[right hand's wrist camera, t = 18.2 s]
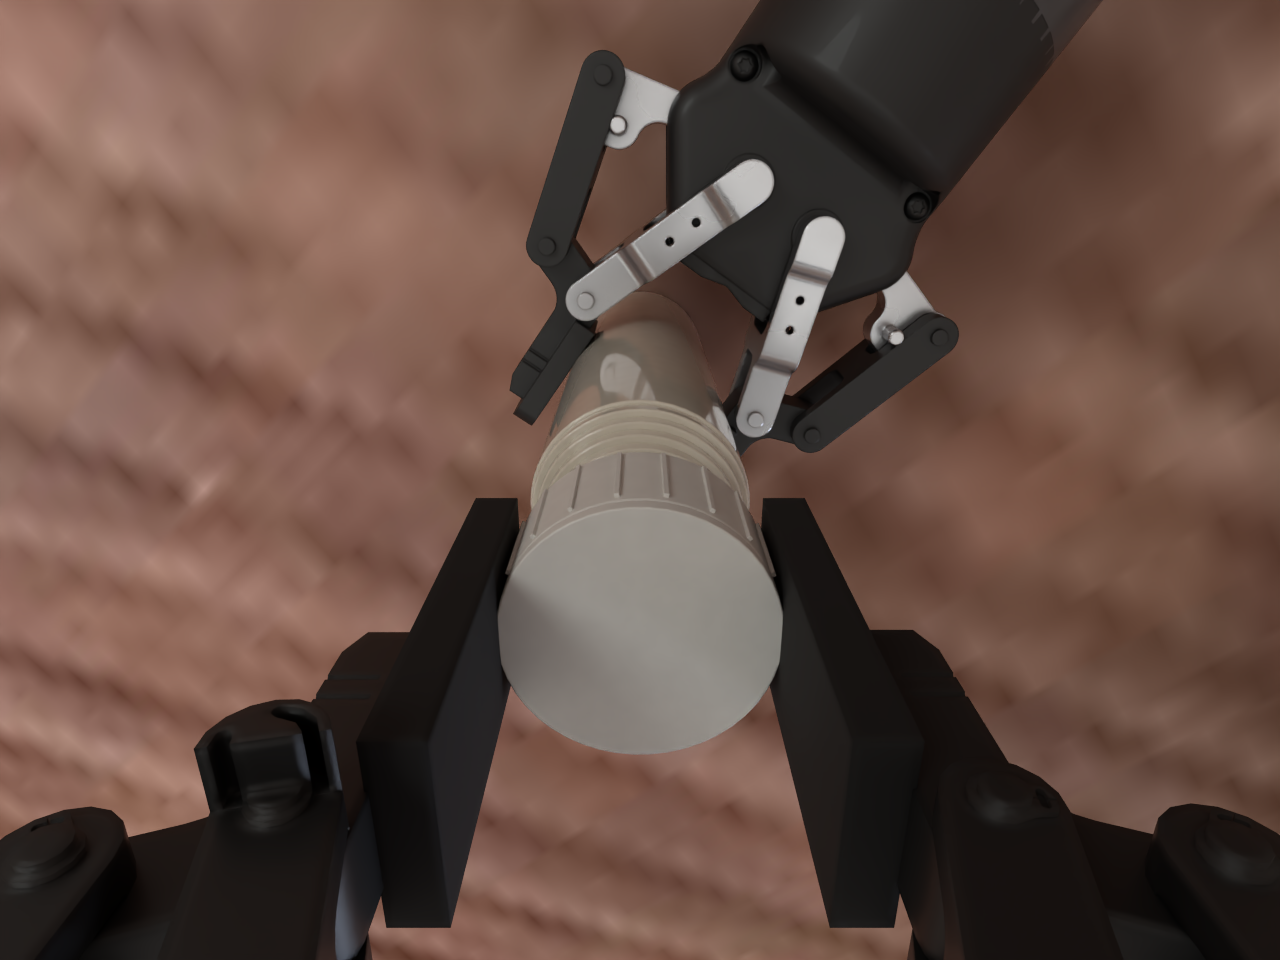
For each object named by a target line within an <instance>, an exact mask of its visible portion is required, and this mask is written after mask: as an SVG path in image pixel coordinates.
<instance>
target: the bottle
mask: <svg viewBox="0 0 1280 960" xmlns="http://www.w3.org/2000/svg"><path fill="white" fill-rule="evenodd" d="M597 321H598V324H597V327H596V331H595V335H594V336H593V337H592V339H591V340H590V342H589V343H588V345H587V346H586V348H585V349H584V351H583V352H582V354H581V355H580V356H579V357H578V359H577V360H576V362H575V363H574V365H573V367H572V368H571V370H570V372H569V375H568V378H567V381H566V384H565V386H564V389H563V392H562V395H561V398H560V401H559V404H558V407H557V410H556V413H555V416H554V418H553V421H552V424H551V427H550V430H549V433H548V436H547V439H546V442H545V445H544V447H543V450H542V453H541V456H540V459H539V462H538V465H537V468H536V471H535V474H534V477H533V482H532V488H531V511H532V509H533V507H534V506H535V505H536V503H537V502H538V501H539V499H540V498H541V496H542V492H543V491H544V490H545V489H547V490H548V489H549V488H550V487H551V486H552V485H553V484H554V483H555V482H557V481H558V480H559V479H561V478H562V477H563V476H565V475H566V474H567V473H569V472H571V471H572V470H574V469H575V468H576V466H578V465H584V464H586V463H589V462H591V461H593V460H596V459H599V458H603V457H607V456H610V455H615V454H617V453H618V452H622V453H629V452H650V453H659V454H661V452H662V453H666V455H670V456H674V457H678V458H682V459H684V460H687V461H690V462H692V463H695V464H697V465H699V466H701V467H702V466H705V467H707V470H708V471H710V472H712V473H713V474H714V475H716V476H717V477H719V478H720V479H721V480H723V481H724V482H725V483H726V484H727V485H728V486H729V487H730V488H731V489H733V490H734V491H736V490H737V491H738V492H739V494H740V497H741V500H742V501H743V502H744V504H745V505H746V507H747V509H748V510H749V509H750V492H749V485H748V479H747V476H746V472H745V469H744V466H743V463H742V460H741V457H740V454H739V451H738V448H737V446H736V443H735V440H734V437H733V434H732V431H731V428H730V425H729V422H728V419H727V417H726V414H725V411H724V408H723V405H722V402H721V399H720V396H719V393H718V390H717V387H716V385H715V382H714V379H713V376H712V373H711V370H710V367H709V364H708V361H707V358H706V356H705V353H704V350H703V347H702V344H701V341H700V338H699V335H698V332H697V330H696V327H695V325H694V323H693V321H692V320H691V318H690V317H689V315H688V314H687V313H686V312H685V311H684V310H683V309H682V308H681V307H680V306H679V305H678V304H677V303H675V302H674V301H672V300H670V299H669V298H667V297H665V296H662V295H659V294H656V293H651V292H642V291H639V292H632V293H631V294H630V295H628V296H627V297H625V298H624V299H623V300H621V301H620V302H618V303H617V304H616V305H614V306H613V307H611V308H610V309H609V310H607V311H606V312H605V313H603V314H602V315H600V316H599V317H598V318H597Z"/></svg>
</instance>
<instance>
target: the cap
mask: <svg viewBox="0 0 1280 960" xmlns="http://www.w3.org/2000/svg"><path fill="white" fill-rule="evenodd" d="M505 574H507V575H508V577H507V580H506V583H505V586H504V589H503V592H502V595H501V599H500V603H499V607H498V613H497V616H498V631H499V644H500V656H501V665H502V667H503V670H504V672H505V674H506V677H507V679H508V681H509V683H510V684H511V686H512V688H513V689H514V691H515V693H516V694H517V696H518V697H519V698H520V699H521V701H522V702H523V703H524V704H525V706H526V707H527V708H528V709H529V710H530V711H531V712H532V713H533V714H534V715H535V716H536V717H537V718H539V719H540V720H541V721H542V722H544V723H545V724H546V725H548V726H549V727H550V728H552V729H553V730H555V731H557V732H559V733H560V734H562V735H564V736H565V737H567V738H570V739H572V740H574V741H576V742H579V743H581V744H584V745H587V746H590V747H593V748H596V749H600V750H605V751H610V752H615V753H624V754H657V753H665V752H671V751H676V750H680V749H685V748H688V747H691V746H694V745H697V744H699V743H702V742H704V741H707V740H709V739H711V738H713V737H715V736H717V735H719V734H720V733H722V732H724V731H725V730H727V729H728V728H730V727H732V726H733V725H734V724H735V723H737V722H738V721H739V720H740V719H742V718H743V717H744V716H745V715H746V714H747V713H748V712H749V711H750V710H751V709H752V708H753V707H754V706H755V705H756V704H757V703H758V701H759V700H760V699H761V697H762V696H763V695H764V693H765V692H766V691H767V689H768V687H769V685H770V683H771V682H772V680H773V678H774V676H775V673H776V671H777V668H778V665H779V662H780V650H781V638H782V624H783V609H782V605H781V601H780V597H779V594H778V591H777V588H776V585H775V581H774V578H773V577H775V576H776V573H775V570H774V567H773V564H772V561H771V558H770V555H769V552H768V549H767V546H766V543H765V540H764V537H763V534H762V531H761V528H760V525H759V523H757V524H755V522H754V520H753V517H752V515H751V514H750V512H749V510H748V509H747V507H746V505H745V504H744V502H743V501H742V500H741V497H740V494H739V492H738V491H737V490H736V491H734V490H733V489H731V488H730V487H729V486H728V485H727V484H726V483H725V482H724V481H723V480H721V479H720V478H719V477H717V476H716V475H714V474H713V473H712V472H710V471H708V470H707V467H705V466H702V467H701V466H699V465H697V464H695V463H692V462H690V461H687V460H684V459H682V458H678V457H674V456H670V455H666V453H662V452H661V454H659V453H650V452H629V453H622V452H618V453H617V454H615V455H610V456H607V457H603V458H599V459H596V460H593V461H591V462H589V463H586V464H584V465H578V466H576V468H575V469H574V470H572V471H571V472H569V473H567V474H566V475H565V476H563V477H562V478H561V479H559V480H558V481H557V482H555V483H554V484H553V485H552V486H551V487H550V488H549V489H548V490H547V489H545V490H544V491H543V492H542V496H541V498H540V499H539V501H538V502H537V503H536V505H535V506H534V507H533V509H532V511H531V513H530V515H529V516H528V518H527V520H526V522H524V521H523V522H522V524H521V527H520V530H519V533H518V536H517V539H516V542H515V545H514V548H513V551H512V554H511V557H510V560H509V563H508V566H507V569H506V572H505Z"/></svg>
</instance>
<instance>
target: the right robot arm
mask: <svg viewBox="0 0 1280 960" xmlns="http://www.w3.org/2000/svg"><path fill="white" fill-rule="evenodd" d="M761 531H762V534H763V537H764V540H765V543H766V546H767V549H768V552H769V555H770V558H771V561H772V564H773V567H774V570H775V573H776V576H775V577H773V578H774V581H775V585H776V588H777V591H778V594H779V597H780V601H781V605H782V609H783V624H782V638H781V650H780V662H779V665H778V668H777V671H776V673H775V676H774V678H773V680H772V682H771V683H770V689H771V693H772V697H773V701H774V705H775V709H776V713H777V717H778V721H779V725H780V729H781V733H782V737H783V741H784V745H785V749H786V753H787V757H788V761H789V765H790V769H791V773H792V777H793V781H794V785H795V789H796V793H797V797H798V801H799V805H800V809H801V813H802V817H803V821H804V825H805V829H806V833H807V837H808V841H809V845H810V849H811V853H812V858H813V862H814V866H815V870H816V874H817V878H818V882H819V886H820V890H821V894H822V898H823V902H824V906H825V910H826V914H827V918H828V922H829V926H830V928H894V925H895V919H896V913H897V907H898V901H899V895H900V894H901V897H902V900H903V903H904V906H905V908H906V911H907V914H908V917H909V920H910V922H911V925H912V928H913V929H912V935H911V940H910V946H909V952H908V957H907V960H1280V835H1279V834H1278V833H1276V832H1274V831H1272V830H1270V829H1269V828H1267V827H1265V826H1263V825H1261V824H1259V823H1258V822H1256V821H1254V820H1252V819H1250V818H1249V817H1246V816H1243V815H1240V814H1237V813H1234V812H1231V811H1228V810H1225V809H1223V808H1220V807H1215V806H1207V805H1199V804H1185V805H1180V806H1174V807H1170V808H1169V809H1168V810H1167V811H1166V812H1164V813H1163V814H1162V815H1161V816H1160V817H1159V818H1158V821H1157V824H1156V827H1155V831H1154V834H1149V833H1145V832H1141V831H1137V830H1132V829H1128V828H1124V827H1120V826H1115V825H1111V824H1107V823H1103V822H1098V821H1095V820H1091V819H1088V818H1085V817H1082V816H1078V815H1075V814H1073V813H1071V812H1070V810H1069V809H1068V807H1067V806H1066V804H1065V802H1064V801H1063V799H1062V798H1061V796H1060V794H1059V793H1058V792H1057V791H1056V790H1054V789H1053V788H1052V787H1051V786H1050V785H1049V784H1047V783H1046V782H1045V781H1044V780H1043V779H1041V778H1040V777H1039V776H1037V775H1035V774H1033V773H1031V772H1029V771H1027V770H1025V769H1023V768H1021V767H1019V766H1017V765H1014V764H1010V763H1008V761H1007V759H1006V758H1005V756H1004V754H1003V753H1002V751H1001V750H1000V748H999V746H998V745H997V743H996V741H995V740H994V738H993V737H992V735H991V733H990V732H989V730H988V729H987V727H986V725H985V724H984V722H983V720H982V719H981V717H980V716H979V714H978V712H977V711H976V709H975V707H974V706H973V704H972V703H971V701H970V699H969V698H968V697H965V691H964V690H963V688H962V686H961V685H960V683H959V682H958V680H957V678H956V677H953V672H952V670H951V669H950V667H949V665H948V664H947V662H946V660H945V659H944V657H943V656H942V654H941V652H940V651H939V649H937V648H936V647H935V646H933V645H932V644H931V643H929V642H928V641H927V640H925V639H924V638H923V637H921V636H920V635H919V634H917V633H916V632H915V631H914V630H869V628H868V626H867V624H866V622H865V619H864V617H863V615H862V613H861V611H860V609H859V607H858V605H857V603H856V601H855V599H854V597H853V595H852V593H851V591H850V589H849V587H848V585H847V583H846V581H845V579H844V577H843V575H842V573H841V571H840V569H839V567H838V565H837V563H836V561H835V559H834V557H833V555H832V553H831V551H830V549H829V547H828V545H827V543H826V541H825V539H824V536H823V534H822V532H821V530H820V528H819V526H818V524H817V522H816V520H815V518H814V516H813V514H812V512H811V510H810V508H809V506H808V504H807V502H806V500H805V498H763V509H762V525H761ZM518 533H519V517H518V501H517V498H476V499H475V501H474V503H473V505H472V507H471V509H470V511H469V513H468V515H467V517H466V519H465V521H464V523H463V525H462V527H461V529H460V531H459V533H458V535H457V538H456V540H455V542H454V544H453V546H452V548H451V550H450V552H449V554H448V556H447V558H446V560H445V562H444V564H443V566H442V568H441V570H440V572H439V574H438V576H437V578H436V580H435V582H434V584H433V586H432V588H431V590H430V592H429V594H428V596H427V598H426V600H425V602H424V604H423V606H422V608H421V610H420V612H419V614H418V617H417V619H416V621H415V623H414V625H413V627H412V629H411V631H410V632H368V633H367V634H365V635H364V636H363V637H361V638H360V639H359V640H357V641H356V642H355V643H353V644H352V645H351V646H349V647H348V648H347V649H346V650H344V651H343V652H342V653H341V655H340V656H339V658H338V660H337V661H336V663H335V664H334V666H333V668H332V669H331V671H330V673H329V674H328V680H325V681H324V682H323V684H322V686H321V687H320V689H319V691H318V692H317V694H316V699H313V700H312V702H307V701H304V700H300V699H294V700H273V701H269V702H265V703H261V704H256V705H252V706H249V707H247V708H245V709H243V710H240V711H238V712H236V713H234V714H232V715H229V716H227V717H225V718H224V719H223V720H221V721H220V722H219V723H217V724H216V725H215V726H213V727H212V728H211V729H209V730H208V731H207V732H206V733H205V734H204V735H203V737H202V738H201V740H200V741H199V742H198V744H197V745H196V747H195V748H194V752H195V755H196V759H197V763H198V767H199V771H200V775H201V779H202V782H203V786H204V790H205V794H206V798H207V802H208V806H209V809H210V814H209V816H208V817H206V818H203V819H200V820H196V821H193V822H190V823H187V824H183V825H179V826H174V827H170V828H166V829H162V830H157V831H153V832H149V833H145V834H140V835H136V836H132V837H128V835H127V832H126V828H125V825H124V822H123V820H121V819H120V818H119V817H118V816H117V815H116V814H115V813H114V812H113V811H112V810H106V809H101V808H96V807H84V808H76V809H68V810H63V811H60V812H57V813H54V814H51V815H48V816H45V817H42V818H39V819H36V820H34V821H32V822H30V823H28V824H26V825H25V826H23V827H21V828H19V829H17V830H15V831H14V832H12V833H10V834H8V835H6V836H5V837H3V838H2V839H1V840H0V960H372V953H371V946H370V940H369V935H368V931H369V928H370V925H371V922H372V919H373V917H374V914H375V911H376V908H377V905H378V903H379V900H380V897H381V898H382V904H383V910H384V916H385V922H386V928H451V924H452V920H453V916H454V912H455V908H456V904H457V900H458V896H459V892H460V888H461V884H462V880H463V876H464V872H465V868H466V864H467V859H468V855H469V851H470V847H471V843H472V839H473V835H474V831H475V827H476V823H477V819H478V815H479V811H480V807H481V803H482V799H483V795H484V791H485V787H486V783H487V779H488V775H489V771H490V767H491V763H492V759H493V755H494V751H495V747H496V743H497V739H498V735H499V731H500V727H501V723H502V719H503V715H504V711H505V707H506V703H507V699H508V695H509V690H510V686H511V684H510V683H509V681H508V679H507V677H506V674H505V672H504V670H503V667H502V665H501V656H500V644H499V631H498V616H497V613H498V607H499V603H500V599H501V595H502V592H503V589H504V586H505V583H506V580H507V577H508V575H507V574H505V572H506V569H507V566H508V563H509V560H510V557H511V554H512V551H513V548H514V545H515V542H516V539H517V536H518Z"/></svg>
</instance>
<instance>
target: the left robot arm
mask: <svg viewBox="0 0 1280 960" xmlns="http://www.w3.org/2000/svg"><path fill="white" fill-rule="evenodd" d="M1101 2H1102V0H760V1H759V3H758V4H757V6H756V8H755V9H754V11H753V12H752V14H751V15H750V17H749V18H748V20H747V21H746V23H745V24H744V26H743V27H742V29H741V30H740V32H739V33H738V35H737V36H736V38H735V39H734V41H733V43H732V44H731V46H730V47H729V49H728V50H727V52H726V53H725V55H724V56H723V58H722V59H721V61H720V62H719V63H718V64H717V65H716V66H715V67H714V68H713V69H712V70H711V71H709V72H708V73H707V74H705V75H704V76H702V77H700V78H698V79H696V80H694V81H692V82H690V83H689V84H687V85H686V86H685V87H683V88H682V89H681V90H680V91H678V90H676V89H673V88H671V87H669V86H666V85H664V84H662V83H659V82H657V81H655V80H652V79H650V78H648V77H645V76H643V75H641V74H639V73H636V72H634V71H632V70H629V69H627V68H625V67H624V66H623V63H622V61H621V60H620V59H619V57H618V56H617V55H615V54H614V53H612V52H610V51H606V50H599V51H595V52H593V53H591V54H590V55H589V56H588V57H587V58H586V59H585V61H584V63H583V65H582V68H581V71H580V74H579V77H578V81H577V84H576V87H575V90H574V93H573V96H572V99H571V103H570V106H569V109H568V112H567V115H566V118H565V121H564V125H563V128H562V131H561V134H560V137H559V140H558V143H557V147H556V150H555V153H554V156H553V159H552V162H551V165H550V168H549V172H548V175H547V178H546V181H545V184H544V187H543V190H542V194H541V197H540V200H539V203H538V206H537V209H536V212H535V216H534V219H533V222H532V225H531V228H530V231H529V234H528V238H527V242H526V249H527V253H528V255H529V257H530V258H531V260H532V261H533V262H534V263H536V264H537V265H539V266H540V267H541V269H542V270H543V272H544V273H545V274H546V276H547V277H548V279H549V280H550V281H551V283H552V284H553V286H554V288H555V291H556V295H557V303H556V307H555V310H554V311H553V313H552V314H551V316H550V317H549V319H548V320H547V322H546V323H545V325H544V327H543V328H542V330H541V331H540V333H539V334H538V336H537V337H536V339H535V340H534V342H533V343H532V345H531V346H530V348H529V349H528V351H527V352H526V354H525V355H524V357H523V358H522V360H521V361H520V363H519V365H518V366H517V368H516V369H515V371H514V373H513V375H512V380H511V386H510V391H511V392H513V393H514V394H516V395H517V396H519V397H521V400H520V402H519V404H518V405H517V407H516V409H515V411H514V413H513V414H514V415H516V416H517V417H519V418H520V419H522V420H523V421H525V422H527V423H528V424H530V425H531V426H532V425H533V423H534V422H535V421H536V419H537V418H538V416H539V415H540V413H541V412H542V410H543V409H544V408H545V406H546V405H547V403H548V402H549V400H550V399H551V397H552V396H553V394H554V393H555V391H556V390H557V389H558V387H559V386H560V384H561V383H562V381H563V380H564V378H565V377H566V375H567V374H568V373H569V371H570V370H571V368H572V367H573V365H574V363H575V362H576V360H577V359H578V357H579V356H580V355H581V354H582V352H583V351H584V349H585V348H586V346H587V345H588V343H589V342H590V340H591V339H592V337H593V336H594V335H595V331H596V327H597V324H598V321H597V318H598V317H599V316H600V315H602V314H603V313H605V312H606V311H607V310H609V309H610V308H611V307H613V306H614V305H616V304H617V303H618V302H620V301H621V300H623V299H624V298H625V297H627V296H628V295H630V294H631V293H632V292H634V291H635V290H637V289H638V288H639V287H641V286H642V285H644V284H646V283H648V282H650V281H652V280H654V279H655V278H657V277H658V276H659V275H661V274H662V273H664V272H665V271H666V270H668V269H669V268H671V267H672V266H673V265H675V264H676V263H678V262H679V261H680V262H682V263H683V264H685V265H686V266H687V267H689V268H690V269H691V270H693V271H694V272H695V273H697V274H698V275H700V276H701V277H703V278H706V279H709V280H711V281H714V282H717V283H719V284H722V285H724V286H726V287H727V288H728V289H729V290H730V291H731V293H732V294H733V295H734V296H735V298H736V299H737V300H738V302H739V303H740V304H741V305H742V307H743V308H745V309H746V310H747V311H749V312H750V313H751V314H752V317H751V320H750V323H749V326H748V329H747V333H746V337H745V345H744V350H743V353H742V356H741V359H740V362H739V365H738V368H737V372H736V375H735V378H734V381H733V384H732V387H731V390H730V393H729V397H728V398H727V399H726V401H725V402H724V403H723V404H722V405H723V408H724V411H725V414H726V417H727V419H728V422H729V425H730V428H731V431H732V434H733V437H734V440H735V443H736V446H737V448H738V451H739V454H740V457H741V456H742V454H743V453H744V452H745V451H746V449H747V448H748V447H749V446H750V445H751V444H752V443H754V442H755V441H757V440H760V439H764V438H772V439H777V440H781V441H785V442H788V443H792V444H795V445H796V447H797V448H798V449H800V450H801V451H803V452H807V453H814V452H817V451H820V450H821V449H823V448H824V447H825V446H827V445H828V444H829V443H831V442H832V441H833V440H835V439H836V438H837V437H839V436H840V435H841V434H842V433H844V432H845V431H846V430H848V429H849V428H850V427H852V426H853V425H854V424H856V423H857V422H858V421H860V420H861V419H862V418H863V417H865V416H866V415H867V414H869V413H870V412H871V411H873V410H874V409H875V408H877V407H878V406H879V405H881V404H882V403H883V402H885V401H886V400H887V399H888V398H890V397H891V396H892V395H894V394H895V393H896V392H898V391H899V390H900V389H902V388H903V387H904V386H906V385H907V384H908V383H909V382H911V381H912V380H913V379H915V378H916V377H917V376H919V375H920V374H921V373H923V372H924V371H925V370H927V369H928V368H929V367H931V366H932V365H933V364H934V363H936V362H937V361H938V360H940V359H941V358H942V357H944V356H945V355H946V354H948V353H949V352H950V351H951V350H952V349H953V348H954V347H955V345H956V344H957V341H958V337H959V331H958V328H957V326H956V324H955V323H954V322H953V321H952V320H950V319H948V318H946V317H945V316H944V315H943V314H941V313H939V312H937V311H935V310H934V308H933V307H932V306H931V304H930V303H929V301H928V300H927V299H926V297H925V296H924V295H923V293H922V292H921V290H920V289H919V288H918V286H917V285H916V283H915V282H914V281H913V279H912V278H911V277H910V275H909V274H908V272H907V269H908V267H909V265H910V263H911V260H912V256H913V251H914V246H915V243H916V239H917V237H918V234H919V232H920V230H921V228H922V226H923V225H924V223H925V222H926V220H927V219H928V218H929V216H930V215H931V214H932V213H933V212H934V211H935V210H936V208H937V207H938V206H939V205H940V204H941V203H942V201H943V200H944V199H945V198H946V196H947V195H948V194H949V193H950V191H951V190H952V189H953V188H954V186H955V185H956V184H957V183H958V181H959V180H960V179H961V178H962V176H963V175H964V174H965V172H966V171H967V170H968V169H969V167H970V166H971V165H972V164H973V162H974V161H975V160H976V159H977V157H978V156H979V155H980V154H981V152H982V151H983V150H984V148H985V147H986V146H987V145H988V143H989V142H990V141H991V140H992V138H993V137H994V136H995V135H996V133H997V132H998V131H999V130H1000V128H1001V127H1002V126H1003V125H1004V123H1005V122H1006V121H1007V120H1008V118H1009V117H1010V116H1011V115H1012V113H1013V112H1014V111H1015V109H1016V108H1017V107H1018V106H1019V105H1020V104H1021V102H1022V101H1023V100H1024V99H1025V97H1026V96H1027V95H1028V93H1029V92H1030V91H1031V90H1032V88H1033V87H1034V86H1035V85H1036V83H1037V82H1038V81H1039V80H1040V78H1041V77H1042V76H1043V75H1044V73H1045V72H1046V71H1047V70H1048V68H1049V67H1050V66H1051V64H1052V63H1053V62H1054V61H1055V59H1056V58H1057V57H1058V56H1059V54H1060V53H1061V52H1062V51H1063V49H1064V48H1065V47H1066V46H1067V44H1068V43H1069V42H1070V41H1071V39H1072V38H1073V37H1074V36H1075V34H1076V33H1077V32H1078V31H1079V29H1080V28H1081V27H1082V26H1083V24H1084V23H1085V22H1086V21H1087V19H1088V18H1089V17H1090V15H1091V14H1092V13H1093V12H1094V10H1095V9H1096V8H1097V7H1098V5H1099V4H1100V3H1101ZM657 123H659V124H664V125H666V209H665V210H664V211H662V212H661V213H659V214H658V215H657V216H655V217H654V218H653V219H651V220H650V221H649V222H647V223H646V224H645V225H643V226H642V227H641V228H639V229H638V230H636V231H635V232H634V233H632V234H631V235H630V236H629V237H627V238H626V239H625V240H624V241H623V242H622V243H620V244H619V245H618V246H616V247H615V248H614V249H612V250H611V251H610V252H608V253H607V254H605V255H604V256H603V257H601V258H600V259H599V260H597V261H596V262H595V263H592V261H591V260H590V258H589V257H588V256H587V254H586V253H585V251H584V250H583V248H582V247H581V246H580V244H579V243H578V241H577V240H576V236H577V233H578V230H579V227H580V224H581V221H582V218H583V215H584V212H585V209H586V206H587V204H588V201H589V198H590V195H591V192H592V189H593V186H594V183H595V180H596V177H597V174H598V171H599V168H600V165H601V162H602V159H603V157H604V154H605V151H606V148H607V146H608V147H610V148H613V149H617V150H623V149H626V148H628V147H630V146H632V145H633V144H634V143H635V141H636V140H637V138H638V136H639V134H640V133H641V131H642V130H643V129H644V128H645V127H647V126H649V125H651V124H657ZM874 293H877V304H876V307H875V309H874V310H873V312H872V313H871V314H870V315H869V316H868V317H867V318H866V320H865V322H864V325H863V334H864V337H865V339H864V340H863V341H862V342H860V343H859V344H858V345H856V346H855V347H854V348H853V349H851V350H850V351H849V352H848V353H846V354H845V355H844V356H843V357H841V358H840V359H839V360H837V361H836V362H835V363H834V364H832V365H831V366H830V367H829V368H827V369H826V370H825V371H824V372H822V373H821V374H820V375H818V376H817V377H816V378H815V379H813V380H812V381H811V382H810V383H808V384H807V385H806V386H805V387H803V388H802V389H801V390H799V391H798V392H797V393H796V394H794V395H793V396H790V395H786V394H784V393H785V390H786V387H787V384H788V381H789V379H790V376H791V375H792V373H793V372H795V370H796V369H797V367H798V365H799V363H800V360H801V357H802V354H803V351H804V349H805V346H806V343H807V340H808V337H809V335H810V332H811V329H812V326H813V323H814V320H815V318H816V315H817V312H820V311H823V310H826V309H829V308H832V307H835V306H838V305H841V304H844V303H847V302H850V301H853V300H856V299H859V298H862V297H865V296H868V295H871V294H874ZM789 326H791V329H790V330H789Z"/></svg>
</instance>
